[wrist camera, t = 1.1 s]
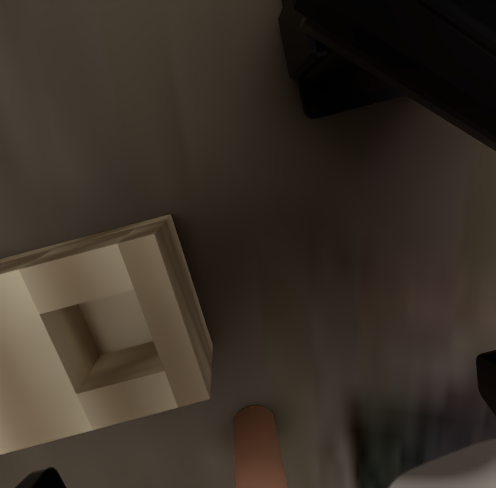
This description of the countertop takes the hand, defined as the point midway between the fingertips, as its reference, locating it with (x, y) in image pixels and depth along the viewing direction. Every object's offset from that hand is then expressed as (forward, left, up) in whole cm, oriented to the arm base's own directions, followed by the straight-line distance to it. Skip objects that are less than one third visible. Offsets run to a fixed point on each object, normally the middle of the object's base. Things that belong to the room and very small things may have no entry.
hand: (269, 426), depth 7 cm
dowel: (+2, +11, -12) cm, 16 cm away
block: (+8, +1, -12) cm, 14 cm away
